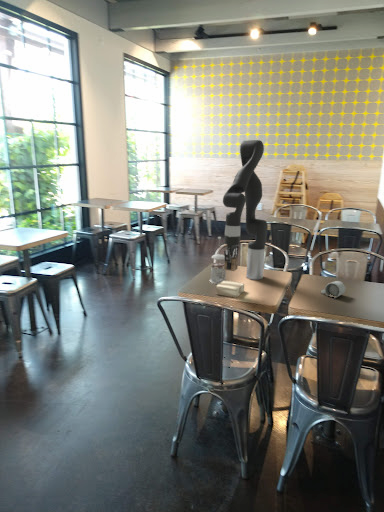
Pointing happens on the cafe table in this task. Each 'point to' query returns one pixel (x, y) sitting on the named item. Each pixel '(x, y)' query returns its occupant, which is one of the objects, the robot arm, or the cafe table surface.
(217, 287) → the birch base
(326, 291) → the ceramic mug
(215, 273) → the french press
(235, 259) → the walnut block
